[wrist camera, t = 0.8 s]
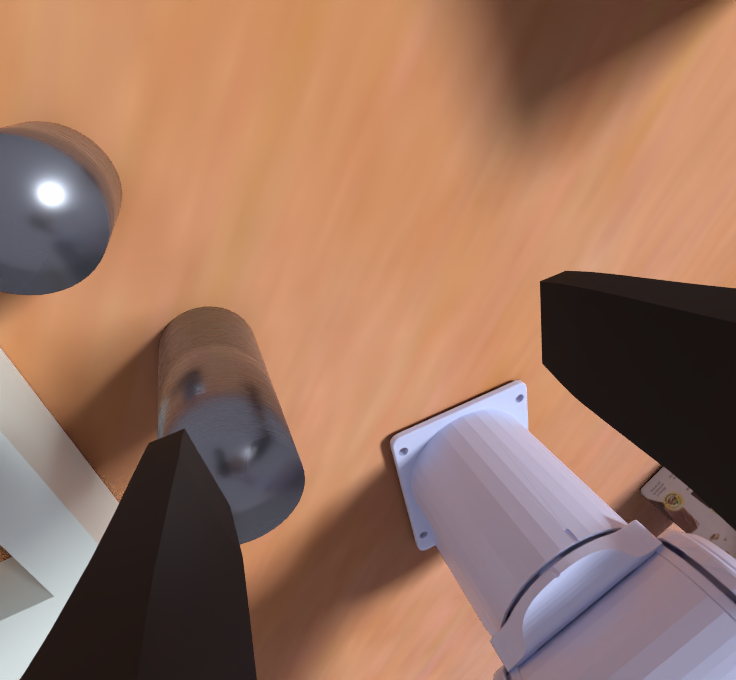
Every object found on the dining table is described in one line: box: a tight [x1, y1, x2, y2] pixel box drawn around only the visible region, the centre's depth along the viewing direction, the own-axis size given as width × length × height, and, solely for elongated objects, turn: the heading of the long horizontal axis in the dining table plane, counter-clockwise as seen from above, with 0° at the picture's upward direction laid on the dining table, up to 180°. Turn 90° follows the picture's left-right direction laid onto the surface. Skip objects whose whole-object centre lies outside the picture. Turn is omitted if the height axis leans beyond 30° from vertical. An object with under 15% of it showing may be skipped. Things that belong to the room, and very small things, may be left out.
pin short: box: [0, 121, 122, 295], centre depth 13 cm, size 4×4×4 cm
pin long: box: [157, 307, 305, 544], centre depth 15 cm, size 4×4×8 cm
